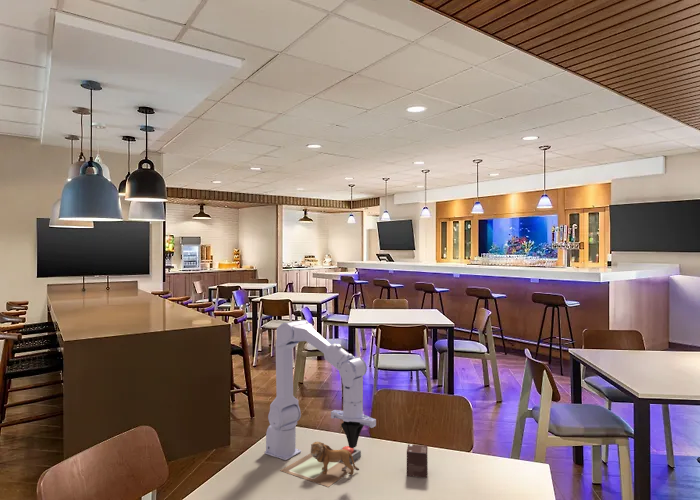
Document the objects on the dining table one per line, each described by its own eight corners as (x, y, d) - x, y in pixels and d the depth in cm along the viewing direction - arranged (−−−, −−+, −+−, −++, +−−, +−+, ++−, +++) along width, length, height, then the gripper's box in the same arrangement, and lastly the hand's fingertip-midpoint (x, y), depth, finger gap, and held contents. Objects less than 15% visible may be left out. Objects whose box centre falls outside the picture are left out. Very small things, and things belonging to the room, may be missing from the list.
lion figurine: (309, 476, 141) (310, 445, 141) (310, 468, 146) (310, 438, 146) (359, 475, 142) (359, 445, 142) (358, 467, 147) (358, 438, 147)
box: (426, 478, 140) (426, 453, 140) (406, 476, 141) (406, 451, 141) (427, 469, 146) (427, 445, 146) (407, 467, 147) (408, 443, 147)
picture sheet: (280, 470, 145) (280, 470, 145) (310, 453, 157) (310, 453, 157) (328, 487, 135) (328, 486, 135) (356, 467, 147) (356, 466, 147)
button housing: (334, 458, 153) (334, 452, 153) (345, 452, 158) (345, 446, 158) (350, 463, 150) (350, 457, 150) (360, 456, 155) (360, 450, 155)
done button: (340, 453, 153) (340, 449, 153) (346, 449, 156) (346, 445, 156) (349, 456, 151) (349, 451, 151) (355, 452, 154) (355, 447, 154)
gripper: (324, 399, 140) (324, 445, 140) (367, 408, 132) (366, 457, 132) (338, 393, 146) (338, 437, 146) (379, 401, 138) (379, 448, 138)
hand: (352, 446), depth 140 cm, fingers closed
